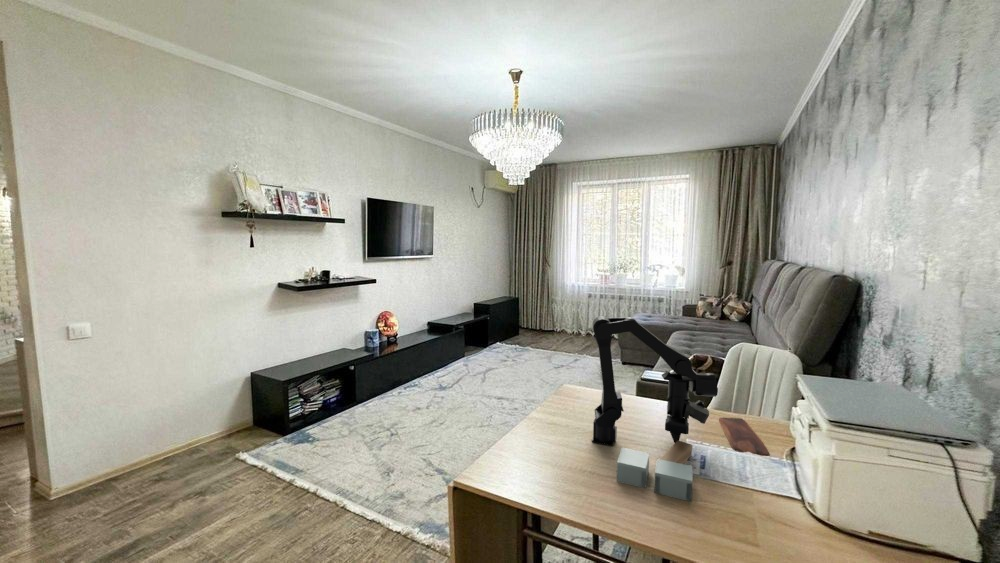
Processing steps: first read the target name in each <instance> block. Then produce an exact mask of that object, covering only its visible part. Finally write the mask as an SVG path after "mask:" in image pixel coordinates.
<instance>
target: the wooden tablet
mask: <svg viewBox="0 0 1000 563" xmlns="http://www.w3.org/2000/svg"><path fill="white" fill-rule="evenodd" d="M718 422H719V424H720V426H721V428H722V430H723V432H724V434H725V436H726V438H727V439H728V442H729V444H730V446H731V448H732V450H734V451H736V452H740V453H751V454H754V455H759V456H765V457H766V456H769V455H770V451H769V450H768V448H767V447H766V445H765V443H764V441H762V439H761V438H760V437H759V436H758V434H757V433H756V431H755V430H754V429H753V428H752V426H750V424H748V422H747V421H746V420H745V419H743V418H740V417H739V418H738V417H724V416H723V417H719V419H718Z"/></svg>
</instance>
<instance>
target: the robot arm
mask: <svg viewBox="0 0 1000 563" xmlns="http://www.w3.org/2000/svg"><path fill="white" fill-rule="evenodd" d="M591 326H592V331H593V334H594V337H595V340H596V343H597V347H598V355H599V362H600V363H599V364H600V371H601V383H602V392H601V403H600V404H599V405H598V406H597V407H595V409H594V419H593V424H592V425H593V427H592V428H593V429H592V430H593V432H592V433H593V434H592V436H593V437H592V439H591V442H592V443H593V444H600V445H605V446H610V447H613V446H614V444H615V443H616V441H617V437H618V435H617V434H618V433H617V431H618V426H616V422H617V421H618V420H619V419H620V418H622V414H623V413H622V412H624V411H625V410H624V407H623V398H622V394H621V391H617V392H616V386H615V375H614V368H613V359H612V358H613V357H612V356H613V355H612V347H611V346H612V340H613V335H617V334H623V333H631V335H633V336H634V337H636V338H637V339H639V340H640V341H641V342H642V343H643V344H645V345H646V346H647V347H648V348H650V349H651V350H652V351H653V352H655V353H656V354H657V355H659V356H660V358H661V359H662V360H663V361H664V362H665V363H666V364H667V365H668V367H670V369H671V370H672V371H673V372H674V373H673V372H670V370H669V369H668V370H666V371H665V372H663V373H662V374H661V377H662V379H663V380H664V381H667V382H668V387H667V389H668V390H667V405H666V406H667V407H666V418H665V424H664V427H665V428H664V431H666V432H669V433H670V435H671V438H672V440H673V443H674V444H675V443H676V442H677V441H678V440H679V441H680V438H681V435H689V429H690V428H689V427H690V426H689V425H690V424H689V420H688V419H690V418H691V419H694V420H696V421H697V422H699V423H701V424H703V425H705V423H706V422H707V420H708V418H709V416H710V411H709V409H708V408H707V407H705V402H704V401H702V400H700V399H699V400H696V401H695V402H694V401H693V402H692V401H690V397H689V396H690V395H689V394H690V393H691V392H692V393H693V395H694V396H698V397H699V396H701V397H714V398H715V397H717V396H718V393H719V388H718V383H717V379H716V374H715V373H713V372H707V373H706V372H705V373H702V372H696V371H695V370H694V369H693V367H692V366H693V363H692V360H690V359H689V357H688V356H687V355H686V354H685V353H683V351H680V350H678V349H676V348H675V347H673V346H670V345H668V344H666V343H664V342H663V341H662V340H661V339H660V338H658V337H657V336H656V335H655V334H653V333H652V332H651V331H649V330H648V329H647V328H646V327H644V326H643V325H642V324H640V323H639V322H638V321H637V320H636V319H635V318H634V317H633V316H626V317H607V316H603V315H600V316H596V317H595V318H594V319H593V320H592V324H591ZM689 392H690V393H689Z"/></svg>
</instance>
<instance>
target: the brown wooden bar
mask: <svg viewBox="0 0 1000 563" xmlns="http://www.w3.org/2000/svg"><path fill="white" fill-rule="evenodd" d="M692 452H693V444H692V443H691V444H690V443H688V442H685V441H681V440H680V439H679V440H678V441H677V442H676V443H674V444H673V445H672V446H670V448H669V449H668V450H666V452H665V453H664V454H663V455H662V456H661V457H660V458H659V459H661V460H666V461H670V462H675V463H680V464H686V463H687V461H688V460H689V459H690V458H691V456H692V454H693V453H692ZM689 457H690V458H689ZM688 458H689V459H688Z"/></svg>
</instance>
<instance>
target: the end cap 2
mask: <svg viewBox="0 0 1000 563" xmlns="http://www.w3.org/2000/svg"><path fill="white" fill-rule="evenodd" d="M692 492H693V465H688V464H686V463H684V464H680V463H675V462H670V461H666V460H661V459H660V458H657V459H656V465H655V469H654V493H655V494H658V495H662V496H667V497H671V498H675V499H678V500H679V499H680V500H683V501H687V502H691V503H692V497H693V493H692Z"/></svg>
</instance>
